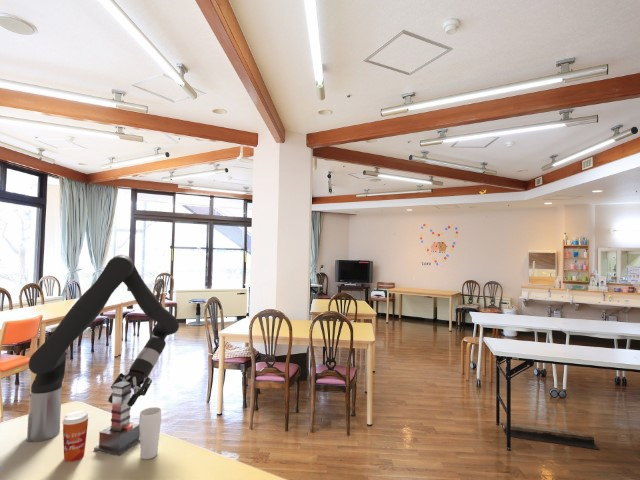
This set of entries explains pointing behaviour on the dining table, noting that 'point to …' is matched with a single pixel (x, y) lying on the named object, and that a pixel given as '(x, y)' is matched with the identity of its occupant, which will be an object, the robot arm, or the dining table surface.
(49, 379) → the robot arm
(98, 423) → the dining table surface
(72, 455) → the paper cup
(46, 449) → the dining table surface
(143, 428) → the drinking glass
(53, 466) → the dining table surface
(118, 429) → the column
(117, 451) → the sleeve
